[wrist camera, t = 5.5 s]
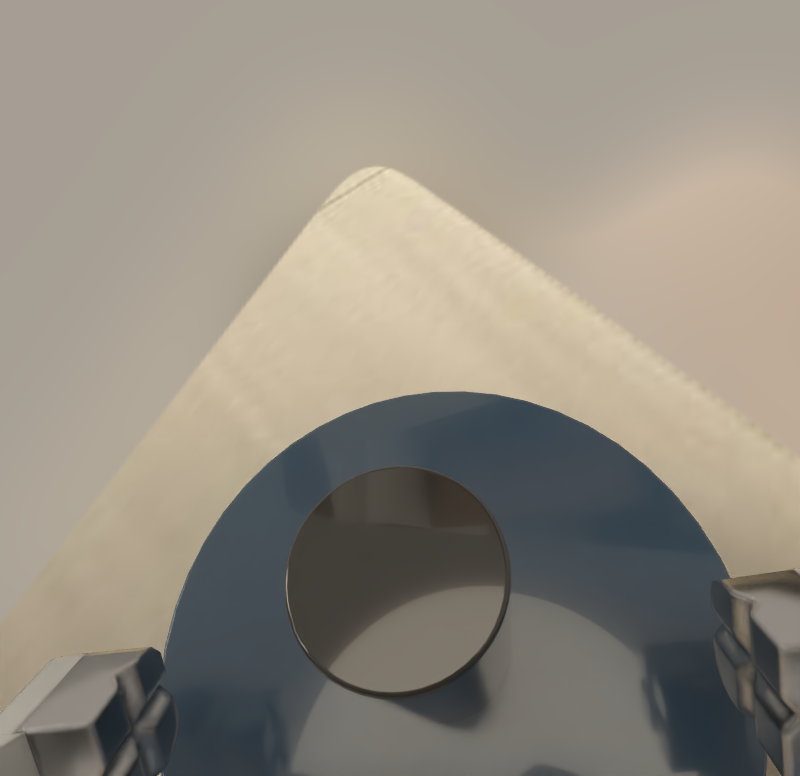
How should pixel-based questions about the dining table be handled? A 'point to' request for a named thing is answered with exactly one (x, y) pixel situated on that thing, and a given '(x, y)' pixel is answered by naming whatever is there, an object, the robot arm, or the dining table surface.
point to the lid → (454, 608)
